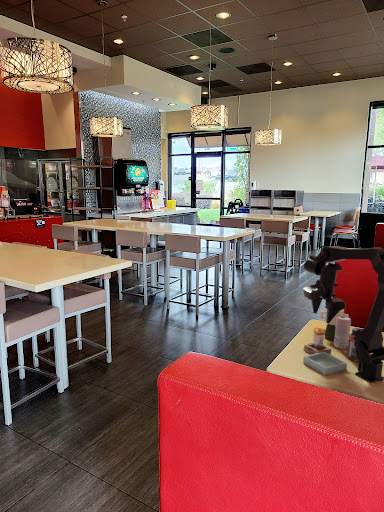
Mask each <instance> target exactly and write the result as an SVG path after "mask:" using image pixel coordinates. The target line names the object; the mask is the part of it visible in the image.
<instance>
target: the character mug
mask: <svg viewBox="0 0 384 512" xmlns="http://www.w3.org/2000/svg"><path fill="white" fill-rule="evenodd" d="M338 316H346V317H349V314H348V313H347V314H346V313H345V309H343V310H340V311H339V312H338V313H337V314H336V316H335V317H334V318H333V319H332V321H331V322H330V323H327V321H326V319H327V309H326V308H325V310H320V316H319V317H320V318H321V319H322V320H323V319H324V321H325V323H326V327H325V329H324V330H325V334H324V337H325V338H328V339H330V340H334V338H335V328H336V319H337V317H338Z"/></svg>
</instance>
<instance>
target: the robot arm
mask: <svg viewBox="0 0 384 512" xmlns="http://www.w3.org/2000/svg"><path fill="white" fill-rule="evenodd" d="M346 260H369V262H370V263H371V267H372V269H373V270H374V272H375V273H376V274H377V277H376V278H377V279H376V282H377V286H378V291H377V293H376V296H375V299H374V302H373V305H372V307H371V311H370V313H369V316H368V320H367V322H366V324H365V327H364V328H361V329H358V330H357V332H356V336H355V338H354V339H353V340H355V342H354V346H355V349H356V355H357V359H359V361H358V366H357V371H356V372H355V375H356V376H358V377H360V378H362V379H363V380H366V381H368V382H369V383H372V384H373V383H375V382H379V381H381V380H384V376H383V367H384V366H383V365H384V362H383V361H384V345H383V343H384V337H383V336H384V335H383V333H382V331H383V328H384V248H382V247H370V248H347V247H345V246H344V247H343V246H340V245H332V246H327V245H326V246H323V247H322V249H321V251H320V252H319V253H318V254H317V255H314V254H309V257H308V258H307V259H306V260H305V262H304V263H303V268H304V271H306V272H308V273H310V274H313V275H316V276H319V279H316V281H315V283H314V284H311V285H308V286H304V287H303V289H302V291H303V295H304V298H307V299H308V300H311V306H312V311H313V314H317V313H318V311H319V308H320V307H321V304H322V301H323V300H324V301H325V302H324V303H325V305H324V308H325V310H326V309H327V319H326V321H327V323H326V324H328V323H330V322H331V321H332V319H333V318H334V317H335V316H336V314H337V313H338V312H339V311H340V310H343V309H344V310H346V308H347V303H346V302H345V301H344V300H343V299H341V298H339V297H336V295H337V294H336V293H335V287H338V282H336V280H337V276H338V271H343V267H342V266H341V265H340V263H338V262H342V261H346ZM335 297H336V298H335Z"/></svg>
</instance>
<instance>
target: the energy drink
mask: <svg viewBox="0 0 384 512" xmlns="http://www.w3.org/2000/svg"><path fill="white" fill-rule="evenodd" d="M351 325H352V319H351V317H349V316H348V317H346V316H338V317H337V319H336V328H335V338H334V339H333V346H334V347H335V348H337V349H338V350H339V349H340V350H346V349H347V350H348V340H349V335H350V334H351V332H350V331H351Z"/></svg>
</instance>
